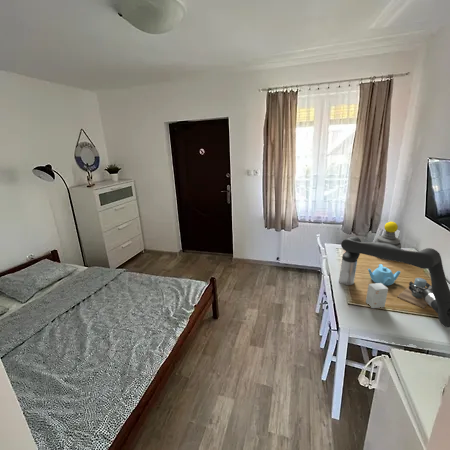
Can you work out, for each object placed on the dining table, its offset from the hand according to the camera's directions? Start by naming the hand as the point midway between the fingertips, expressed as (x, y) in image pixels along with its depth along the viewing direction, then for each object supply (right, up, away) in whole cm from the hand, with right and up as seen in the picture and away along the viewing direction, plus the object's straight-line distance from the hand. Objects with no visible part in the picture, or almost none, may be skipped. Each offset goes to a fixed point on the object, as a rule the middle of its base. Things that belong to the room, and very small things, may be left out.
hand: (418, 283), depth 154 cm
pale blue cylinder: (0, -8, +1) cm, 8 cm away
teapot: (-11, -3, +19) cm, 22 cm away
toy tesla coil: (+15, +10, +54) cm, 57 cm away
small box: (-30, -12, -5) cm, 32 cm away
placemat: (0, -9, +1) cm, 9 cm away
